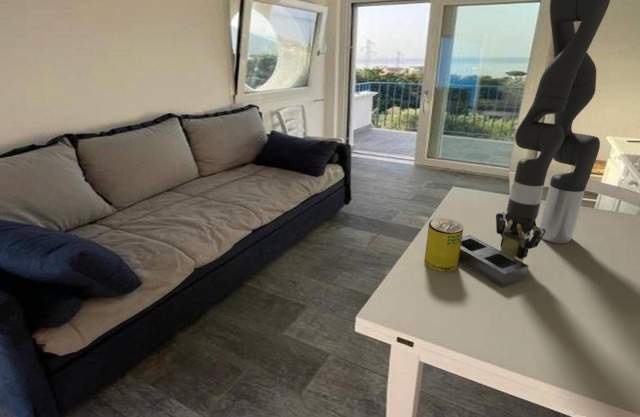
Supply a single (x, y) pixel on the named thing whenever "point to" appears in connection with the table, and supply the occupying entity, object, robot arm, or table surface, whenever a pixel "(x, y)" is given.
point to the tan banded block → (511, 244)
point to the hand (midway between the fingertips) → (512, 253)
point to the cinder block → (491, 262)
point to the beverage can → (443, 244)
